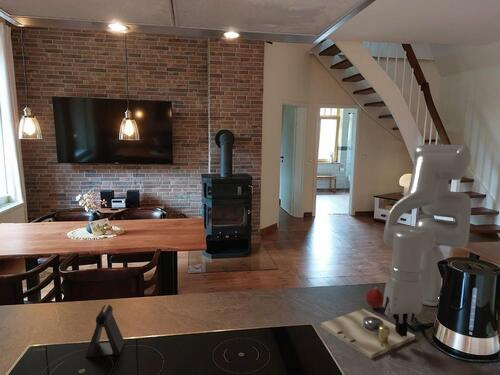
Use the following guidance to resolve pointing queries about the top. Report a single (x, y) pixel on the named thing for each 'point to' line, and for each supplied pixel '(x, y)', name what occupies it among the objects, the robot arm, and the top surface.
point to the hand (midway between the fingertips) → (401, 333)
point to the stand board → (364, 333)
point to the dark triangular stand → (112, 333)
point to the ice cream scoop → (377, 329)
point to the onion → (374, 298)
